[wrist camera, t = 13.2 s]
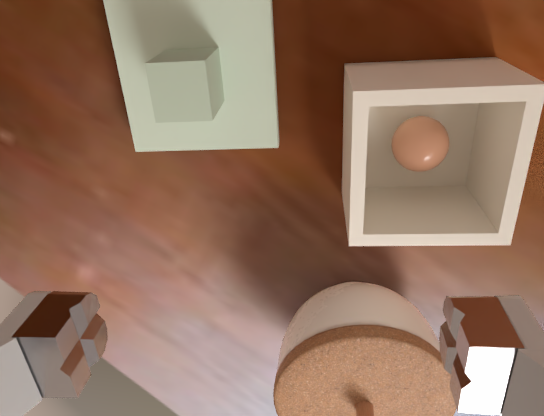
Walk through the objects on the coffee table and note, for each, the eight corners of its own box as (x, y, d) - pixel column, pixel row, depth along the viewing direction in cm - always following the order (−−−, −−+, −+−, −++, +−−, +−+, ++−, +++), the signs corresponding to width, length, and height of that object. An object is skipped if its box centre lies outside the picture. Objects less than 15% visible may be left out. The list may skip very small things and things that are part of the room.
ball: (444, 107, 25) (460, 125, 22) (438, 158, 26) (452, 180, 24) (389, 109, 25) (398, 127, 23) (386, 159, 27) (394, 181, 24)
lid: (271, -18, 23) (262, -13, 19) (279, 141, 27) (274, 173, 23) (109, -8, 23) (69, -1, 20) (141, 145, 27) (112, 176, 24)
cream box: (496, 57, 24) (547, 84, 19) (472, 191, 28) (510, 245, 23) (344, 63, 25) (353, 91, 20) (341, 193, 29) (348, 246, 23)
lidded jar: (251, 318, 34) (233, 431, 26) (349, 226, 30) (364, 327, 22) (356, 385, 37) (369, 506, 29) (460, 310, 32) (511, 428, 24)
